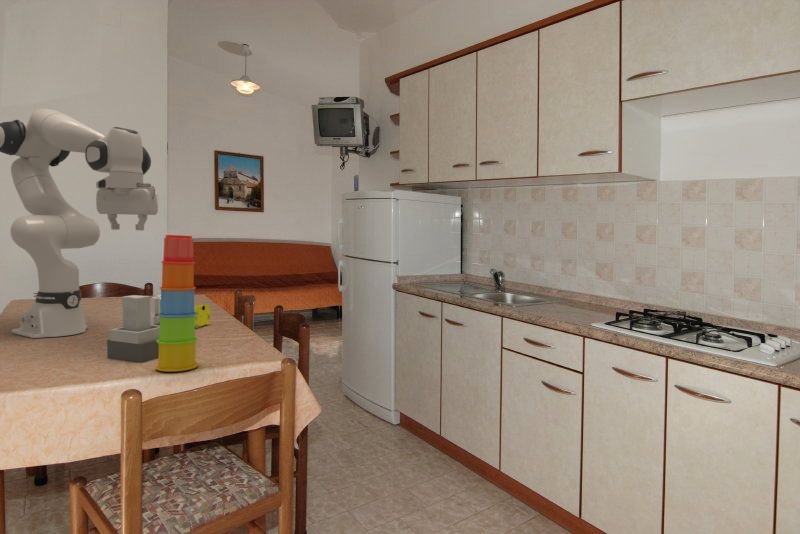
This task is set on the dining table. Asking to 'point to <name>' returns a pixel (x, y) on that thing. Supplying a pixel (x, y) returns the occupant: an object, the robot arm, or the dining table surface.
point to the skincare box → (136, 313)
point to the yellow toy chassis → (202, 315)
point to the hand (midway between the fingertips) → (127, 230)
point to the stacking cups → (177, 306)
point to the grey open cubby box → (133, 344)
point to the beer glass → (155, 309)
